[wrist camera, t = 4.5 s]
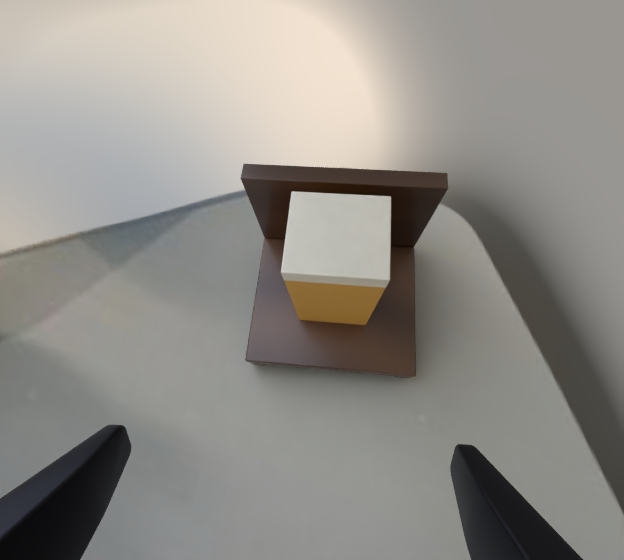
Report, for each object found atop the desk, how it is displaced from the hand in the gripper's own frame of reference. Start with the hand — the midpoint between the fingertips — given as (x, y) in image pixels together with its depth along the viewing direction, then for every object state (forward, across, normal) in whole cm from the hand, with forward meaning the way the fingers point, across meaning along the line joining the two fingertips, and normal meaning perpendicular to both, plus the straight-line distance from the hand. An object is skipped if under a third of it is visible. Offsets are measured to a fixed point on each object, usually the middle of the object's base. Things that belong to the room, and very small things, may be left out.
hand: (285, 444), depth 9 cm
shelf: (+15, -1, +4) cm, 16 cm away
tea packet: (+14, -1, +2) cm, 14 cm away
